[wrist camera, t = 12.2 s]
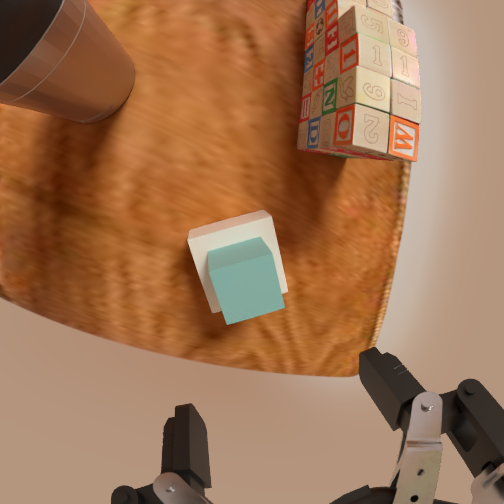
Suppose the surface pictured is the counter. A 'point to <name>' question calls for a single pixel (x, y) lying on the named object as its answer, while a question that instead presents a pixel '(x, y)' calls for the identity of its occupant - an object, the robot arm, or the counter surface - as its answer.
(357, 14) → the stack of blocks
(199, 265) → the white square block
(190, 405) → the robot arm
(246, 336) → the counter surface
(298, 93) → the counter surface
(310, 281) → the counter surface
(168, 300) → the counter surface
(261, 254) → the teal cube
